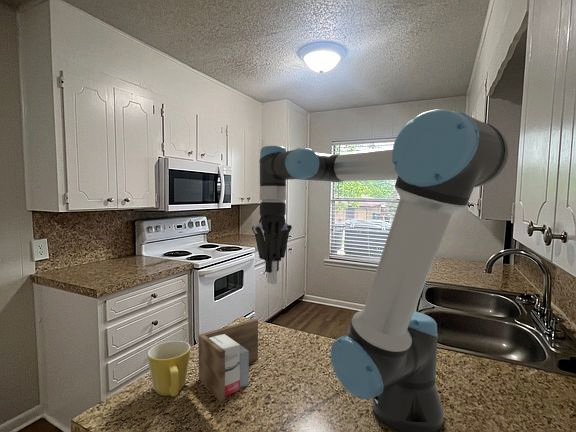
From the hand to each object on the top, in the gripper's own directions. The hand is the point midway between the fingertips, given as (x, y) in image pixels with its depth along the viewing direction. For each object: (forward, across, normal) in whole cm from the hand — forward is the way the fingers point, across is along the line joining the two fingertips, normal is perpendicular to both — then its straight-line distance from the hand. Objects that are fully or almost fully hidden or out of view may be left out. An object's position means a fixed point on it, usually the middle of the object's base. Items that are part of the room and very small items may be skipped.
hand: (272, 282), depth 92 cm
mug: (+25, +28, -5) cm, 38 cm away
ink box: (+24, +17, +2) cm, 29 cm away
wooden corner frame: (+24, +12, +2) cm, 27 cm away
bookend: (+23, +13, +2) cm, 27 cm away
